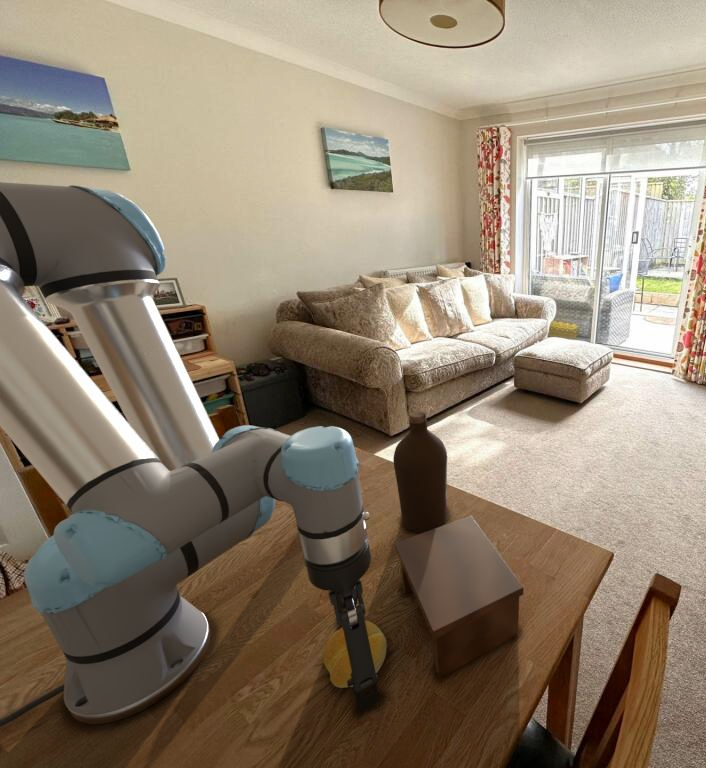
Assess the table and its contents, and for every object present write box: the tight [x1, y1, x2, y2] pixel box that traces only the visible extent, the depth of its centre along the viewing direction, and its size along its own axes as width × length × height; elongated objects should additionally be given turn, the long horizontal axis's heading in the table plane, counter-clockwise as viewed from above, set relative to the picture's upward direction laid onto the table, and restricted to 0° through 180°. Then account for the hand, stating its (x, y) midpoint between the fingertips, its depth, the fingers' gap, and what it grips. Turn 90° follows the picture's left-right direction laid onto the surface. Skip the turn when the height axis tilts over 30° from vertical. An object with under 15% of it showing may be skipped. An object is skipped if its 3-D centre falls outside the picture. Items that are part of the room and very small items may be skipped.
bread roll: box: [322, 619, 388, 689], centre depth 58 cm, size 8×9×4 cm
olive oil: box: [392, 410, 448, 533], centre depth 83 cm, size 11×11×25 cm
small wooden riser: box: [394, 515, 524, 679], centre depth 65 cm, size 14×18×10 cm
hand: (357, 658), depth 59 cm, fingers open, 13 cm apart
